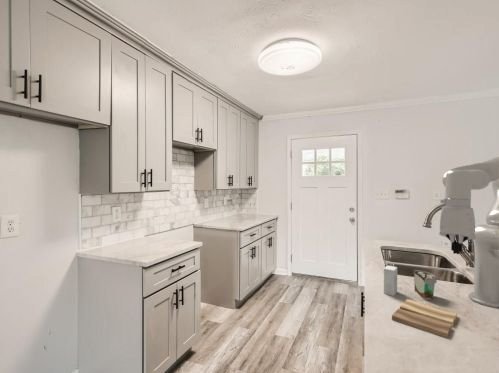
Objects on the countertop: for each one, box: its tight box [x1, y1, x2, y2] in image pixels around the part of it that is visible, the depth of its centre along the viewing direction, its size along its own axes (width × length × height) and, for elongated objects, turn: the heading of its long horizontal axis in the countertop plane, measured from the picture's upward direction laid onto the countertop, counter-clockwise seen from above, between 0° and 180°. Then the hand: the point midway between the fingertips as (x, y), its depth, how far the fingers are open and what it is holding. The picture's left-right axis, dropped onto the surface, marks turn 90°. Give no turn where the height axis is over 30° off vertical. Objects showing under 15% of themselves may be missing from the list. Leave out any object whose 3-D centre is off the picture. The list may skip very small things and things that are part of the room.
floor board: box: [391, 307, 453, 339], centre depth 97 cm, size 20×18×2 cm
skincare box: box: [383, 265, 398, 297], centre depth 119 cm, size 6×4×12 cm
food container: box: [413, 269, 438, 300], centre depth 117 cm, size 12×6×10 cm, turn 168°
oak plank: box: [399, 298, 458, 327], centre depth 100 cm, size 10×16×2 cm, turn 46°
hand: (456, 253), depth 101 cm, fingers closed
